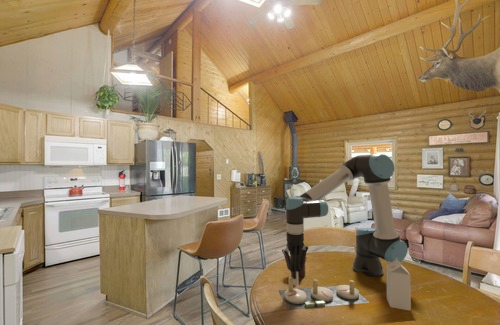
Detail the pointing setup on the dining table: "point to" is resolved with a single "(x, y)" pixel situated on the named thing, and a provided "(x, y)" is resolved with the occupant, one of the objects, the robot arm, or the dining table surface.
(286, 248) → the robot arm
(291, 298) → the knob
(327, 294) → the knob middle
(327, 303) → the base plate
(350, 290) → the knob
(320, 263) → the dining table surface
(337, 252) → the dining table surface
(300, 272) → the mug
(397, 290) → the milk carton
